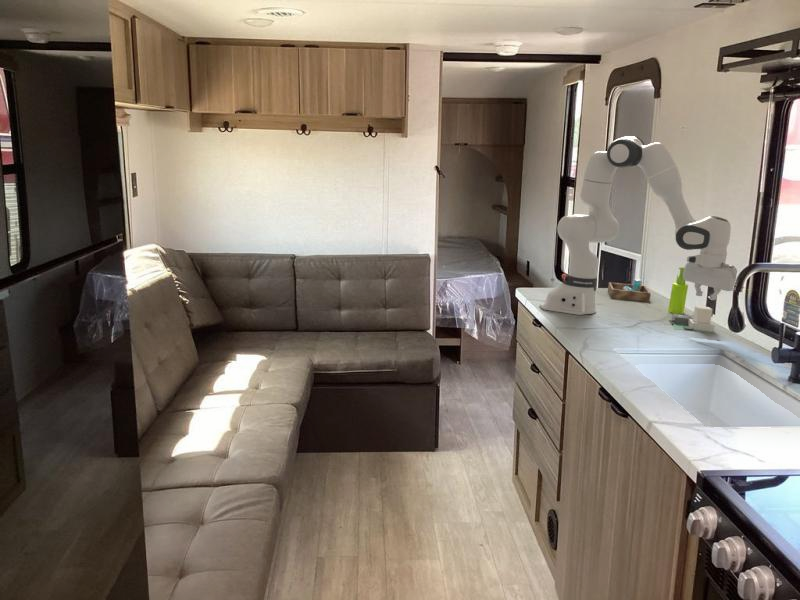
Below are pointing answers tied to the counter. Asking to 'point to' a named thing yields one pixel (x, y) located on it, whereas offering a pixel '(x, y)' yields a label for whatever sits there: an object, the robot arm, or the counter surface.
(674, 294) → the soap dispenser
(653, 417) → the counter surface
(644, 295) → the wooden tray
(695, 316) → the plug
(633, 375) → the counter surface
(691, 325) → the compartment tray
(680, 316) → the grey sponge
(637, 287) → the teal container
